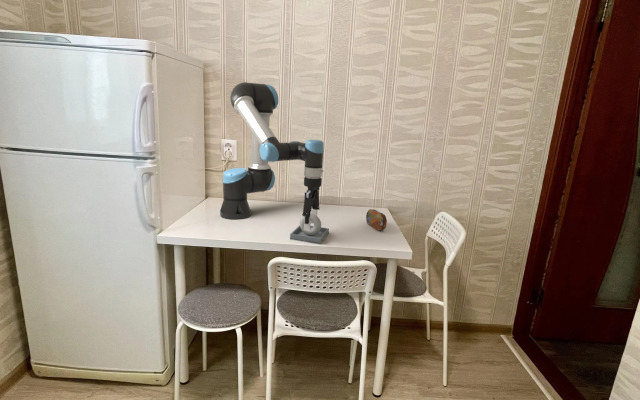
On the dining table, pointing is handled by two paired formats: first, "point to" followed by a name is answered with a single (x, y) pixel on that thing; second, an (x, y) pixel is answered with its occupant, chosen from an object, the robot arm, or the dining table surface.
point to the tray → (316, 238)
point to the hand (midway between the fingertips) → (310, 226)
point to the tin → (376, 219)
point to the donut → (316, 225)
